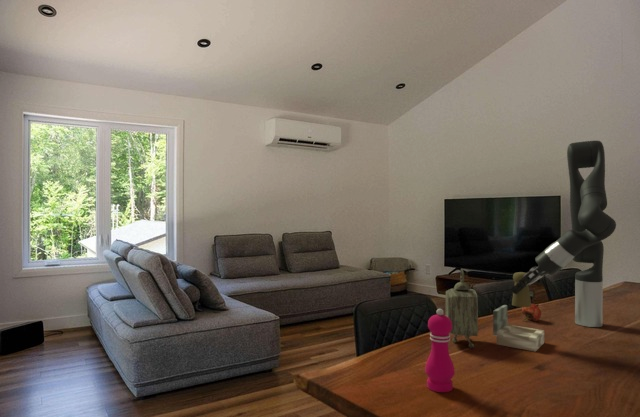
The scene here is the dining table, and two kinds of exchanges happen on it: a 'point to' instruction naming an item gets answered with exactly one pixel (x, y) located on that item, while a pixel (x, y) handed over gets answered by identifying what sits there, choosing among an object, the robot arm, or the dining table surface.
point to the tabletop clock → (462, 310)
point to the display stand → (515, 333)
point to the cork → (521, 292)
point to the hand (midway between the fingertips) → (515, 290)
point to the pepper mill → (439, 354)
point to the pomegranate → (532, 312)
